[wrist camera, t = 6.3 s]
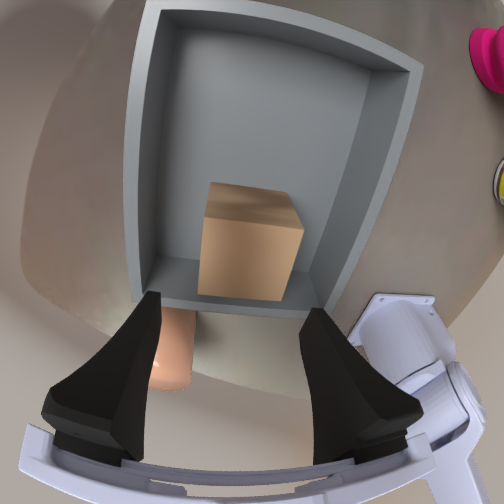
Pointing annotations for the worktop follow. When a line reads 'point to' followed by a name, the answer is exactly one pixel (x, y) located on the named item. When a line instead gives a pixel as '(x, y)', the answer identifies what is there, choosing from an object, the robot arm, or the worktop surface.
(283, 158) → the gray tote
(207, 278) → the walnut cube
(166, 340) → the terracotta cylinder
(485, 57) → the pepper mill
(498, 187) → the supplement bottle
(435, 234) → the worktop surface
